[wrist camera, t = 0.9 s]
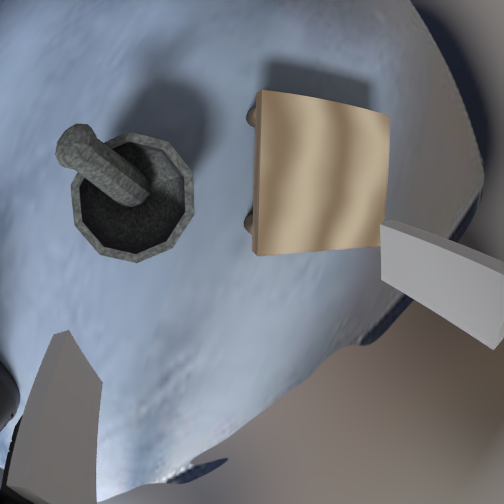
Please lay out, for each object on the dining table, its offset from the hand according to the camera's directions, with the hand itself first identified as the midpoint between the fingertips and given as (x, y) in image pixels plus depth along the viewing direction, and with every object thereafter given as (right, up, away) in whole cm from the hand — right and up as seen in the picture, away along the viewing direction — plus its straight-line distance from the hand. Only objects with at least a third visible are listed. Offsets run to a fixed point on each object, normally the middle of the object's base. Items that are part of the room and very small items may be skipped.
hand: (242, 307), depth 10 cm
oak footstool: (+6, +11, +20) cm, 23 cm away
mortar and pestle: (-11, +9, +15) cm, 20 cm away
